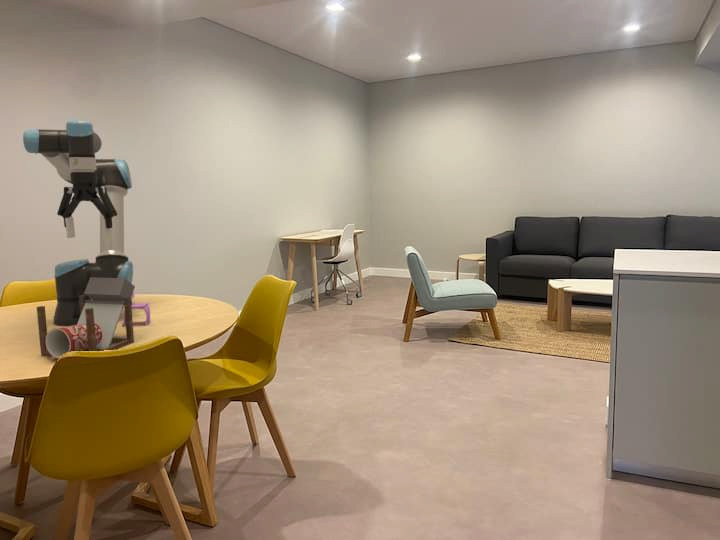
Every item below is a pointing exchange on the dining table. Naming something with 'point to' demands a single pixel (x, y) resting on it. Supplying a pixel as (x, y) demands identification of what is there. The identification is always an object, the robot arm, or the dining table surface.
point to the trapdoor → (106, 305)
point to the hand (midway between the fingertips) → (89, 238)
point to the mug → (69, 339)
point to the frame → (89, 327)
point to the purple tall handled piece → (140, 306)
